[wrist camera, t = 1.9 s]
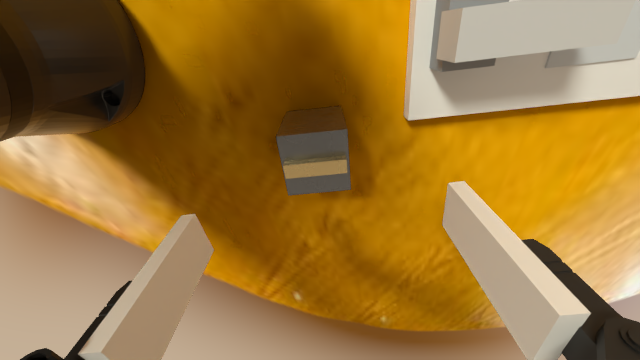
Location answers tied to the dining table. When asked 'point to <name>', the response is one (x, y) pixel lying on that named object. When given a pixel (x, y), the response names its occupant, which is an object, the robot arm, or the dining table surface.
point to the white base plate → (519, 54)
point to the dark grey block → (314, 150)
